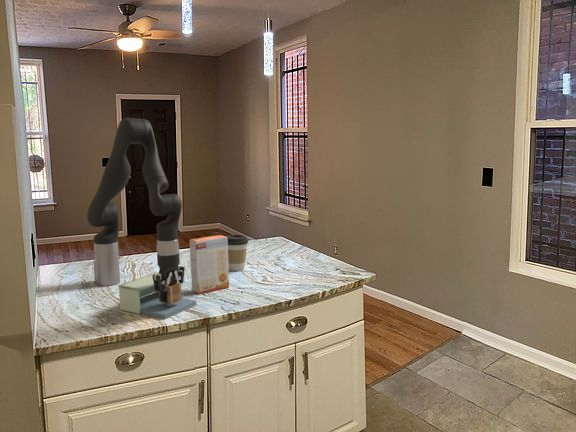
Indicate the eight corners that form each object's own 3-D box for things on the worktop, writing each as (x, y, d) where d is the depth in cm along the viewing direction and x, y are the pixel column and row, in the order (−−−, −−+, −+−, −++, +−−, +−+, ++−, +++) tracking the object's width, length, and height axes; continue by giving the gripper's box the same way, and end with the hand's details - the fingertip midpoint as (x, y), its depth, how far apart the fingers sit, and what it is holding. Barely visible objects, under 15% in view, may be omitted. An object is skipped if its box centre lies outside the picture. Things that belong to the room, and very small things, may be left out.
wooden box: (159, 301, 176) (158, 285, 175) (169, 297, 181) (169, 281, 180) (170, 304, 174) (170, 287, 173) (181, 299, 178) (180, 283, 177)
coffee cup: (250, 266, 234) (250, 234, 231) (246, 273, 223) (246, 239, 220) (226, 265, 235) (226, 233, 232) (221, 272, 224) (220, 239, 221)
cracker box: (222, 284, 207) (220, 234, 203) (229, 287, 202) (228, 236, 198) (190, 290, 198) (189, 238, 195) (197, 294, 194) (196, 241, 190)
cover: (120, 309, 177) (118, 285, 176) (157, 294, 193) (156, 272, 191) (138, 313, 173) (137, 289, 171) (175, 298, 188) (174, 275, 187)
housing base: (122, 308, 178) (121, 293, 177) (155, 296, 192) (154, 282, 191) (165, 319, 168) (164, 303, 168) (196, 304, 182) (195, 290, 181)
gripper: (174, 246, 182) (176, 291, 185) (144, 255, 170) (147, 303, 173) (190, 249, 179) (191, 294, 181) (161, 257, 166) (163, 307, 169)
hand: (170, 298), depth 177 cm, fingers closed on wooden box, 5 cm apart
